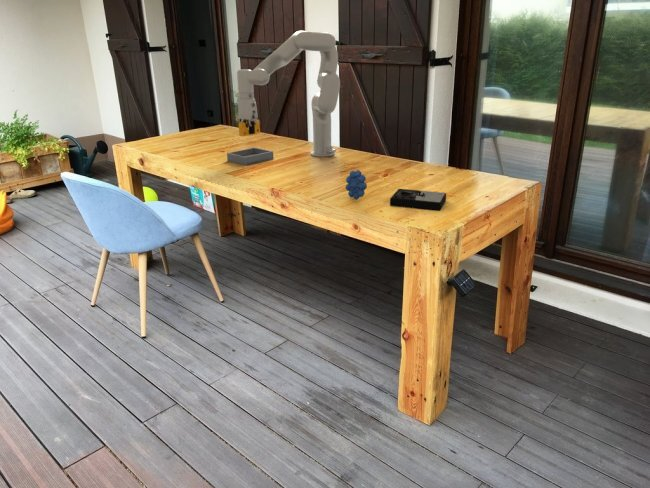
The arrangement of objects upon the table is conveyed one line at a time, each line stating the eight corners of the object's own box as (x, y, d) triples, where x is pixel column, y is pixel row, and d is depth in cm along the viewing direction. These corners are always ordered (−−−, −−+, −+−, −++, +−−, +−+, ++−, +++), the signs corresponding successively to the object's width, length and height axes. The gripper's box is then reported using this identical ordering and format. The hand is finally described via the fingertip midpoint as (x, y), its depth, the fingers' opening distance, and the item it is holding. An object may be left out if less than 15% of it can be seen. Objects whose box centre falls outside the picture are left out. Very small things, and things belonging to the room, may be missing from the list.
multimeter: (397, 197, 212) (398, 185, 210) (446, 201, 206) (447, 189, 204) (389, 207, 201) (389, 194, 199) (440, 212, 194) (441, 199, 192)
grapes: (374, 200, 206) (374, 170, 202) (360, 204, 203) (361, 173, 198) (354, 193, 215) (354, 165, 210) (341, 197, 211) (341, 167, 207)
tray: (273, 159, 273) (273, 151, 271) (246, 165, 261) (245, 157, 259) (254, 154, 282) (254, 147, 281) (227, 160, 270) (226, 153, 269)
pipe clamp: (253, 131, 272) (253, 119, 270) (260, 132, 270) (259, 120, 267) (236, 135, 263) (236, 122, 261) (243, 136, 261) (242, 123, 258)
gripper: (263, 96, 256) (265, 134, 263) (241, 93, 267) (243, 130, 274) (251, 98, 251) (253, 136, 258) (229, 95, 262) (232, 132, 269)
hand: (248, 132), depth 266 cm, fingers closed on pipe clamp, 4 cm apart
